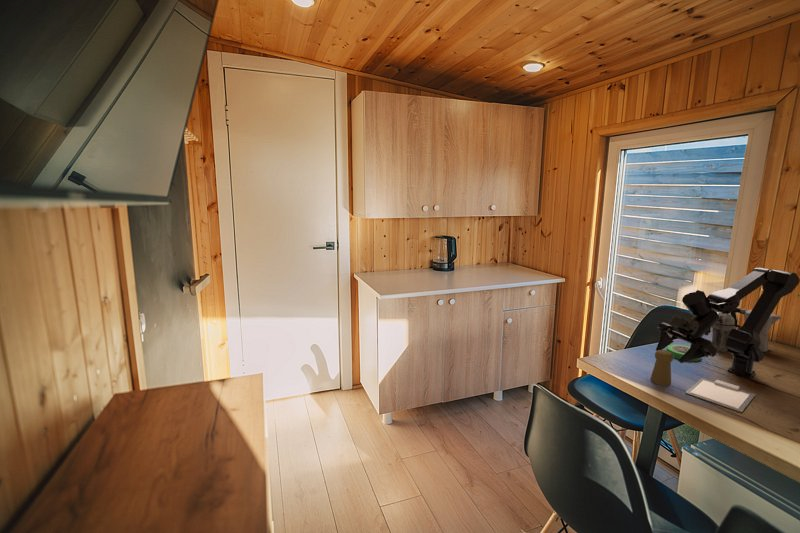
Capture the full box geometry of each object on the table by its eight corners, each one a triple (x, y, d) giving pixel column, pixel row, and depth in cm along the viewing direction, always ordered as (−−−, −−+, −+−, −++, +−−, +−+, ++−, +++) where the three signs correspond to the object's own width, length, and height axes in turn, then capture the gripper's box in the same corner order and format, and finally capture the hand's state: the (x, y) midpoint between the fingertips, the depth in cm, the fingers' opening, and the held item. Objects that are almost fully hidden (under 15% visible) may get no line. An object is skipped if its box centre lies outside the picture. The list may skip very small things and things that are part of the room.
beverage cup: (703, 347, 160) (710, 301, 156) (715, 344, 162) (723, 299, 158) (722, 354, 153) (730, 306, 149) (735, 351, 155) (743, 304, 151)
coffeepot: (775, 348, 157) (783, 306, 154) (775, 355, 151) (783, 312, 147) (726, 339, 168) (733, 299, 164) (724, 345, 161) (731, 304, 158)
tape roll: (659, 353, 155) (660, 346, 155) (677, 348, 159) (678, 342, 159) (689, 364, 145) (690, 357, 145) (706, 358, 149) (707, 352, 149)
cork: (674, 386, 128) (679, 355, 126) (654, 384, 129) (658, 354, 127) (666, 377, 134) (670, 348, 132) (647, 376, 135) (650, 347, 133)
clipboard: (701, 378, 133) (702, 375, 133) (755, 395, 122) (755, 391, 122) (685, 393, 123) (685, 389, 123) (741, 413, 112) (742, 408, 112)
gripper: (665, 300, 137) (634, 331, 137) (715, 317, 119) (680, 352, 119) (680, 320, 140) (650, 350, 140) (732, 339, 122) (697, 374, 122)
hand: (667, 356), depth 130 cm, fingers open, 9 cm apart
